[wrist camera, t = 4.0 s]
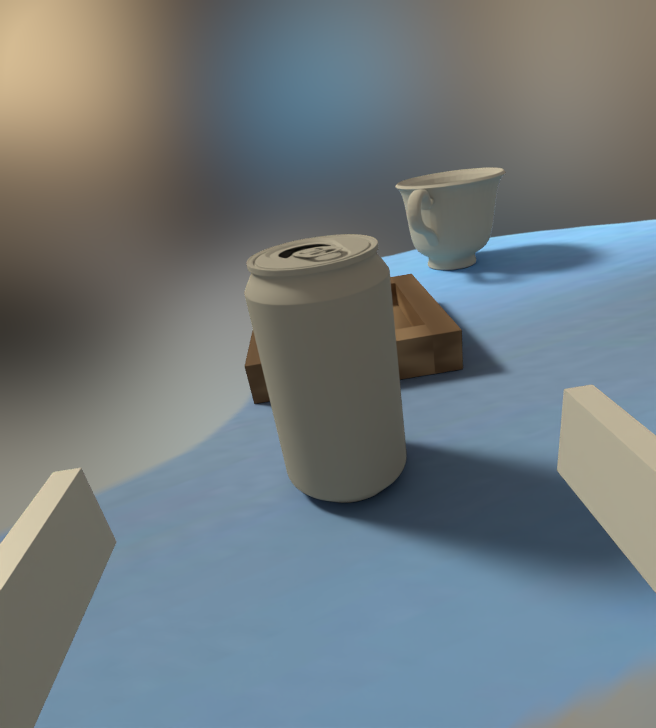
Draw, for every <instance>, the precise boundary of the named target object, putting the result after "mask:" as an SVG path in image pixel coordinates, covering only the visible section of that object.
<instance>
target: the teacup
mask: <svg viewBox="0 0 656 728" xmlns="http://www.w3.org/2000/svg"><path fill="white" fill-rule="evenodd" d="M504 174H505V171H504V170H503V169H501V168H475V169H464V170H456V171H448V172H442V173H435V174H429V175H424V176H419V177H415V178H411V179H407V180H404V181H401V182H399V183H398V184H397V185H396V188H397V189H398V190H399V191H400V192H401V195H402V197H403V200H404V204H405V208H406V213H407V219H408V224H409V229H410V234H411V238H412V241H413V244H414V246H415V248H416V249H417V250H418V252H420V253H421V254H423V255H425V256H427V257H429V261H428V266H429V267H430V268H432V269H437V270H455V269H461V268H465V267H469V266H471V265H473V264H475V263H476V257H475V253H476V252H477V251H479V250H480V249H482V248H483V247H484V246H485V245H486V244H487V242H488V240H489V238H490V235H491V231H492V226H493V219H494V211H495V203H496V195H497V189H498V185H499V182H500V179H501V177H502V176H503V175H504Z"/></svg>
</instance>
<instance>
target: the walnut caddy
mask: <svg viewBox="0 0 656 728" xmlns="http://www.w3.org/2000/svg"><path fill="white" fill-rule="evenodd" d="M390 281H391V292H392V302H393V313H394V324H395V335H396V346H397V356H398V367H399V378H400V379H406V378H412V377H418V376H424V375H430V374H436V373H442V372H448V371H454V370H460V369H463V356H462V330H461V329H460V328H459V326H458V325H457V324H456V323H455V322H454V321H453V320H452V319H451V317H450V316H449V315H448V314H447V313H446V312H445V311H444V310H443V308H442V307H441V306H440V305H439V304H438V303H437V302H436V301H435V300H434V298H433V297H432V296H431V295H430V294H429V293H428V292H427V291H426V289H425V288H424V287H423V286H422V285H421V284H420V283H419V282H418V281H417V279H416V278H415V277H414V276H413V275H412V274H407V275H401V276H396V277H390ZM245 369H246V374H247V377H248V381H249V385H250V389H251V393H252V397H253V400H254V404H256V403H262V402H268V401H270V398H269V394H268V390H267V386H266V382H265V377H264V373H263V369H262V365H261V361H260V357H259V352H258V348H257V344H256V340H255V336H254V331H252V336H251V340H250V345H249V349H248V354H247V358H246V363H245Z"/></svg>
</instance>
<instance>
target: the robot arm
mask: <svg viewBox="0 0 656 728" xmlns="http://www.w3.org/2000/svg"><path fill="white" fill-rule="evenodd" d="M557 471H558V472H559V474H560V475H561V476H562V477H563V479H564V480H565V481H566V482H567V483H568V485H569V486H570V487H571V488H572V490H573V491H574V492H575V493H576V495H577V496H578V497H579V498H580V500H581V501H582V502H583V503H584V505H585V506H586V507H587V508H588V510H589V511H590V512H591V513H592V514H593V516H594V517H595V518H596V519H597V521H598V522H599V523H600V524H601V526H602V527H603V528H604V529H605V531H606V532H607V533H608V534H609V536H610V537H611V538H612V539H613V541H614V542H615V543H616V544H617V545H618V547H619V548H620V549H621V550H622V552H623V553H624V554H625V555H626V557H627V558H628V559H629V560H630V562H631V563H632V564H633V565H634V567H635V568H636V569H637V570H638V572H639V573H640V574H641V575H642V576H643V578H644V579H645V580H646V581H647V583H648V584H649V585H650V586H651V588H652V589H653V590H654V591H655V593H656V436H655V435H654V434H653V433H652V432H651V431H649V430H648V429H647V428H646V427H644V426H643V425H642V424H641V423H639V422H638V421H637V420H636V419H634V418H633V417H632V416H631V415H629V414H628V413H627V412H626V411H624V410H623V409H622V408H621V407H619V406H618V405H617V404H616V403H615V402H613V401H612V400H611V399H610V398H608V397H607V396H606V395H605V394H603V393H602V392H601V391H600V390H598V389H597V388H596V387H595V386H593V385H587V386H581V387H575V388H569V389H564V396H563V407H562V419H561V431H560V442H559V454H558V465H557ZM115 544H116V540H115V538H114V535H113V533H112V531H111V529H110V527H109V525H108V523H107V521H106V519H105V517H104V514H103V512H102V510H101V508H100V506H99V504H98V502H97V500H96V498H95V496H94V494H93V491H92V489H91V487H90V485H89V483H88V481H87V479H86V477H85V475H84V473H83V470H82V468H76V469H70V470H64V471H58V472H53V473H52V474H51V476H50V477H49V479H48V480H47V481H46V483H45V484H44V485H43V487H42V488H41V489H40V491H39V492H38V494H37V495H36V496H35V498H34V499H33V500H32V502H31V503H30V505H29V506H28V507H27V509H26V510H25V511H24V513H23V514H22V516H21V517H20V518H19V520H18V521H17V522H16V523H15V525H14V526H13V528H12V529H11V530H10V532H9V533H8V534H7V536H6V537H5V538H4V540H3V541H2V543H1V544H0V728H34V726H35V723H36V721H37V719H38V717H39V714H40V712H41V710H42V708H43V706H44V703H45V701H46V699H47V697H48V694H49V692H50V690H51V688H52V685H53V683H54V681H55V679H56V676H57V674H58V672H59V670H60V667H61V665H62V663H63V661H64V658H65V656H66V654H67V652H68V649H69V647H70V645H71V643H72V641H73V638H74V636H75V634H76V632H77V629H78V627H79V625H80V623H81V620H82V618H83V616H84V614H85V611H86V609H87V607H88V605H89V602H90V600H91V598H92V596H93V593H94V591H95V589H96V587H97V584H98V582H99V580H100V578H101V576H102V573H103V571H104V569H105V567H106V564H107V562H108V560H109V558H110V555H111V553H112V551H113V549H114V546H115Z"/></svg>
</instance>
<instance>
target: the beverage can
mask: <svg viewBox="0 0 656 728" xmlns="http://www.w3.org/2000/svg"><path fill="white" fill-rule="evenodd" d="M377 250H378V242H377V240H376V239H375V238H373V237H370V236H366V235H356V234H354V235H353V234H344V235H329V236H320V237H314V238H307V239H302V240H297V241H293V242H288V243H284V244H281V245H278V246H274V247H271V248H268V249H266V250H263V251H261V252H258V253H256V254H255V255H253V256H251V257H250V258H249V259H248V260H247V268H248V271H249V272H251V276H250V278H249V281H248V283H247V285H246V289H245V292H244V293H245V298H246V302H247V306H248V311H249V315H250V319H251V323H252V327H253V331H254V336H255V340H256V344H257V348H258V352H259V357H260V361H261V365H262V369H263V373H264V377H265V382H266V386H267V390H268V394H269V398H270V402H271V407H272V411H273V415H274V419H275V423H276V427H277V432H278V436H279V440H280V444H281V448H282V453H283V457H284V461H285V465H286V469H287V473H288V476H289V478H290V480H291V482H292V483H293V485H294V486H295V487H296V488H297V489H299V490H300V491H301V492H303V493H305V494H306V495H309V496H311V497H314V498H316V499H320V500H325V501H333V502H342V503H345V502H356V501H361V500H364V499H367V498H370V497H372V496H374V495H376V494H377V493H379V492H380V491H382V490H383V489H385V488H386V487H388V486H389V485H390V484H392V483H393V482H394V481H395V480H396V479H397V478H398V476H399V475H400V474H401V472H402V470H403V468H404V466H405V463H406V443H405V432H404V421H403V411H402V400H401V389H400V378H399V367H398V356H397V346H396V335H395V324H394V313H393V302H392V292H391V281H390V270H389V267H388V266H387V265H386V263H385V262H384V261H383V260H382V258H381V257H380V256H379V255H378V254H377Z"/></svg>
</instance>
